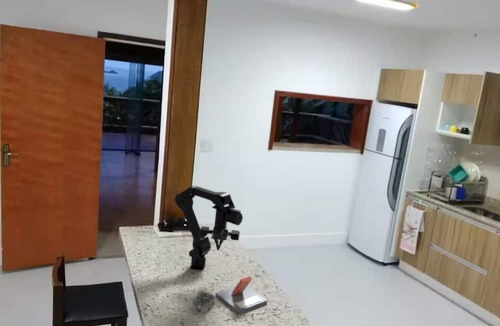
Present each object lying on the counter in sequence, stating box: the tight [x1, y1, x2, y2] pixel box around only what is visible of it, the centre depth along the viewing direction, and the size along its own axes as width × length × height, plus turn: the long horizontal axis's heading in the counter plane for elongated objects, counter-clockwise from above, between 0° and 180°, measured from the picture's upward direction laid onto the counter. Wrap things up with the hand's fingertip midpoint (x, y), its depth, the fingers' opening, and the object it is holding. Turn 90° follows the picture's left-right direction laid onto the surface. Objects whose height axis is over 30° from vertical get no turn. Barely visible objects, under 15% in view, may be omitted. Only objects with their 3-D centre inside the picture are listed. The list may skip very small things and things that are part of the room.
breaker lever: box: [231, 276, 253, 295], centre depth 173 cm, size 2×6×10 cm
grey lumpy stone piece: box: [191, 290, 216, 314], centre depth 166 cm, size 11×8×4 cm
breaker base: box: [215, 285, 268, 315], centre depth 174 cm, size 16×16×2 cm
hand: (218, 249), depth 191 cm, fingers closed
